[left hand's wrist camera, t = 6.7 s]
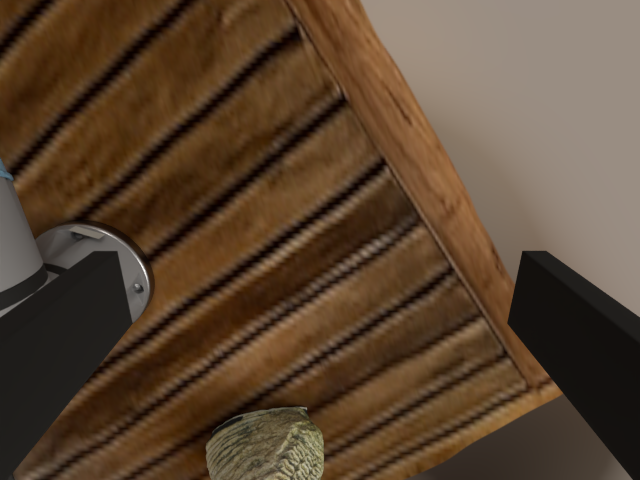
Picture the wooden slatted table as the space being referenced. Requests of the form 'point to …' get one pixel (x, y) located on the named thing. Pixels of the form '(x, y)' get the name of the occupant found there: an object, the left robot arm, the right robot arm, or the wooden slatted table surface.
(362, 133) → the wooden slatted table surface
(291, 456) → the fossil
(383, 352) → the wooden slatted table surface
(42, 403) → the left robot arm
